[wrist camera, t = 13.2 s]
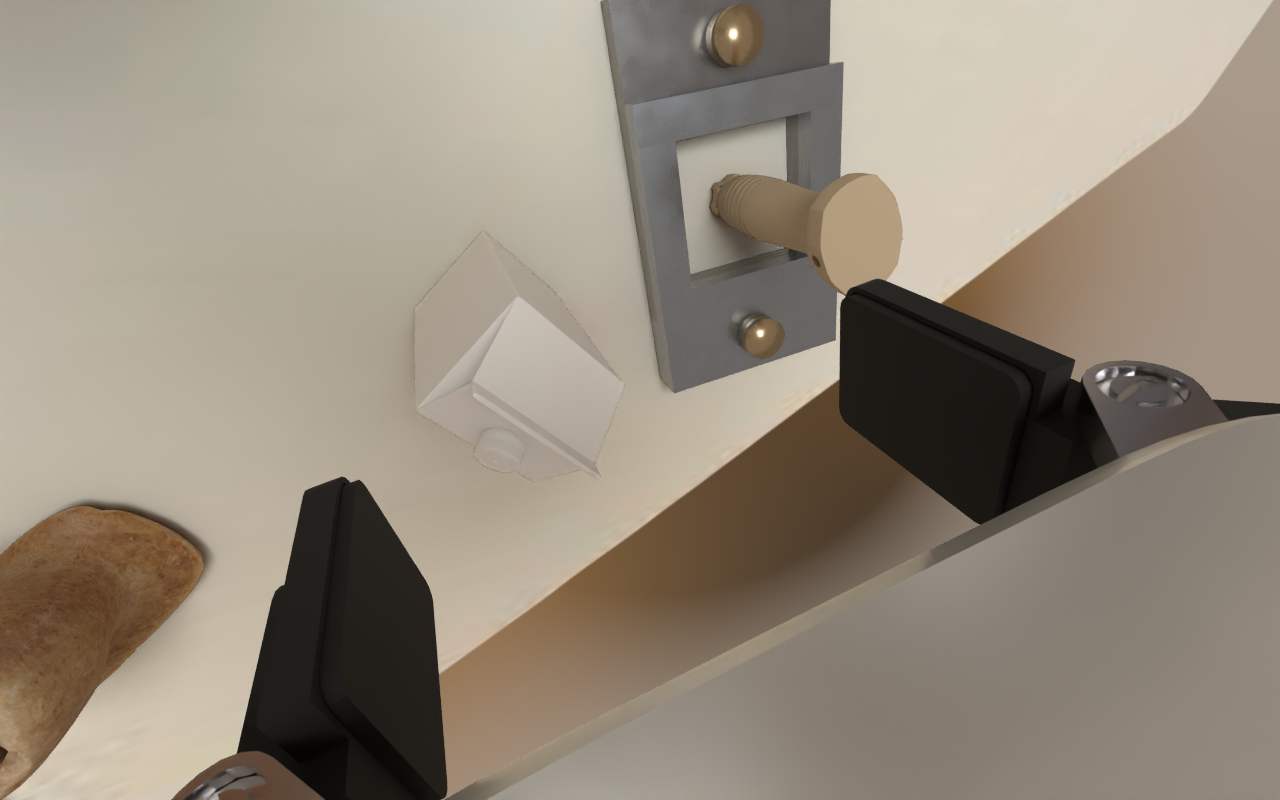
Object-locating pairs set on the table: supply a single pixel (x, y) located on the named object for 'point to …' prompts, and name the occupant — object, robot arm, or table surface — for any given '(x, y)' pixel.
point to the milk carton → (511, 368)
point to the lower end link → (709, 65)
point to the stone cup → (77, 619)
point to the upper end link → (749, 296)
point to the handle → (819, 223)
